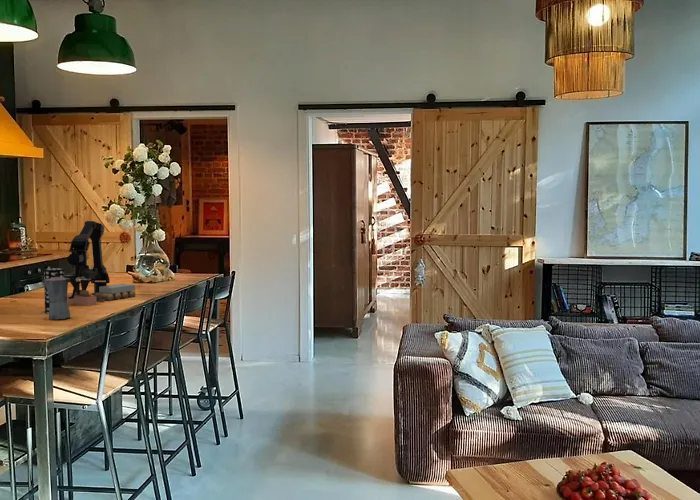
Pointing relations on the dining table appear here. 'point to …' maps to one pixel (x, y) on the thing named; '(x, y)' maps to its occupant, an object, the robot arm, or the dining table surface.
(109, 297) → the roller bed
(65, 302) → the moka pot
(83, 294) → the roller
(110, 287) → the slab
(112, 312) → the dining table surface
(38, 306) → the dining table surface
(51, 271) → the white-spotted black cylinder
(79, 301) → the stop beam
